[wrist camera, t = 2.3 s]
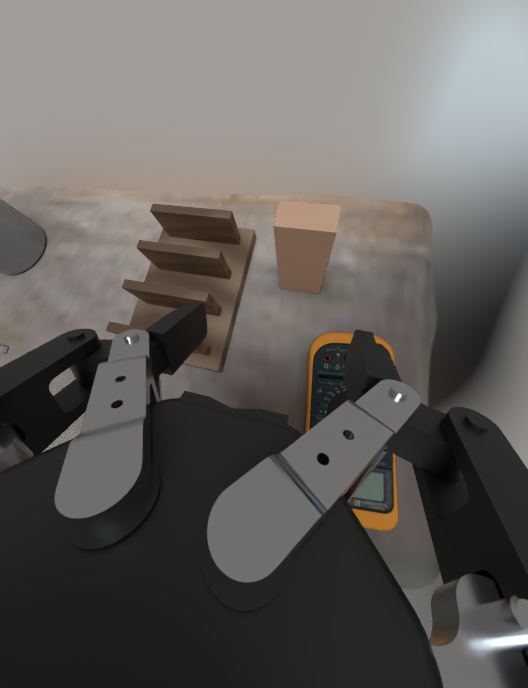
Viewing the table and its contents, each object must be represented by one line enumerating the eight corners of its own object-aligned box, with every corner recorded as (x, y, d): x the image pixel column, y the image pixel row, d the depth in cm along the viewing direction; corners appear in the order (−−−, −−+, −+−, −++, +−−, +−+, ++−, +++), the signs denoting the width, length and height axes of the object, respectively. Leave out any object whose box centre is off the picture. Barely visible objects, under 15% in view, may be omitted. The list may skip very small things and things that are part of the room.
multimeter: (382, 342, 26) (396, 334, 23) (385, 515, 22) (401, 537, 19) (308, 337, 27) (311, 329, 24) (299, 501, 23) (300, 519, 20)
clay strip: (319, 294, 28) (336, 232, 17) (279, 288, 29) (273, 226, 18) (322, 276, 28) (341, 205, 18) (283, 271, 29) (279, 200, 18)
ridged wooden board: (221, 372, 27) (202, 366, 21) (129, 351, 29) (89, 341, 23) (255, 237, 31) (247, 201, 25) (171, 228, 33) (145, 192, 27)
